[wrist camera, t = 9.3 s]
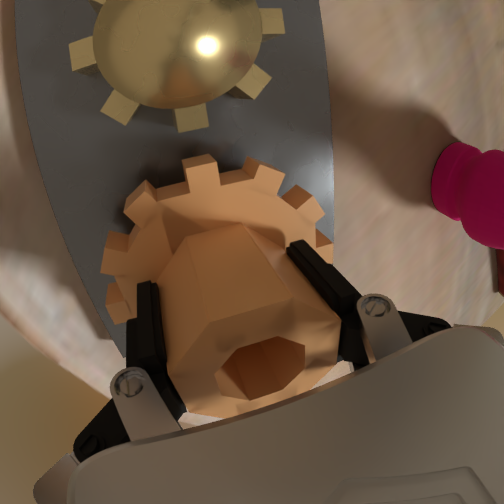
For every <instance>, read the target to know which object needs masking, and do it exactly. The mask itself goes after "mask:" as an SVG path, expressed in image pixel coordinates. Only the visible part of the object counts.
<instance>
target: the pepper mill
mask: <svg viewBox="0 0 504 504" xmlns="http://www.w3.org/2000/svg"><path fill="white" fill-rule="evenodd" d="M431 194H432V200H433V203H434V205H435V207H436V209H437V210H438V211H440V212H441V213H443V214H444V215H446V216H448V217H450V218H451V219H453V220H456V221H459V220H461V222H462V225H463V228H464V230H465V231H466V233H467V234H468V235H469V236H470V237H471V238H472V239H474V240H475V241H477V242H479V243H481V244H483V245H485V246H488V247H492V248H495V249H503V250H504V152H503V151H501V150H489V151H487V152H484V153H482V152H481V151H480V150H479V149H477V148H475V147H473V146H470V145H467V144H465V143H461V142H456V143H453V144H451V145H449V146H448V147H447V148H446V149H445V150H444V151H443V152H442V154H441V155H440V157H439V159H438V160H437V163H436V165H435V168H434V171H433V176H432V181H431Z"/></svg>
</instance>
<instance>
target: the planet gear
mask: <svg viewBox="0 0 504 504" xmlns="http://www.w3.org/2000/svg"><path fill="white" fill-rule="evenodd" d="M182 165H183V170H184V175H185V180H186V181H185V182H180V183H176V184H172V185H169V186H165V187H161V188H157V189H155V188H154V187H153V186H152V185H151V184H150V183H149V182H148V181H147V180H144V181H143V182H142V183H141V184H140V185H139V186H138V187H137V188H136V189H135V190H134V191H133V192H132V193H131V194H130V195H129V196H128V197H127V198H126V203H125V207H124V212H123V213H124V214H125V215H127V216H128V217H129V218H130V219H131V220H132V221H133V222H134V223H135V226H134V228H133V229H132V231H131V233H130V235H128V234H123V233H119V232H114V231H110V230H109V233H108V236H107V240H106V244H105V248H104V254H103V259H102V265H101V271H100V273H103V274H108V275H113V276H114V277H115V279H116V282H114V283H110V284H108V289H107V296H106V303H105V306H106V308H107V310H108V312H109V314H110V316H111V318H112V320H113V322H114V324H115V325H116V324H120V323H124V322H127V320H128V319H132V318H136V317H137V283H141V282H145V281H148V280H151V282H152V283H155V282H156V283H157V285H158V288H159V298H160V307H161V317H162V325H163V333H164V341H165V348H166V355H167V363H166V364H167V371H168V376H169V377H170V379H171V381H172V382H173V384H174V386H175V388H176V390H177V391H178V393H179V395H180V397H181V399H182V400H183V402H184V404H185V406H186V407H187V409H188V411H189V412H190V413H195V414H201V415H207V416H213V417H219V418H230V417H233V416H236V415H240V414H243V413H246V412H249V411H252V410H256V409H259V408H262V407H265V406H268V405H271V404H274V403H277V402H279V401H282V400H285V399H288V398H291V397H293V396H296V395H299V394H301V393H304V392H306V391H309V390H310V389H311V388H312V387H313V386H314V385H315V384H316V383H317V382H318V381H319V380H320V379H321V378H323V377H324V376H325V375H326V374H327V373H328V372H329V371H330V370H331V369H332V368H333V367H334V366H335V365H336V364H337V363H336V362H337V354H338V346H339V337H340V328H341V319H340V318H339V317H338V315H337V314H336V313H335V312H334V311H333V310H332V309H331V308H330V307H329V305H328V304H327V303H326V302H325V300H324V299H323V298H322V297H321V295H320V294H319V293H318V292H317V290H316V289H315V288H314V287H313V285H312V284H311V283H310V282H309V281H308V279H307V278H306V277H305V276H304V274H303V273H302V272H301V271H300V269H299V268H298V267H297V266H296V265H295V263H294V262H293V261H292V260H291V258H290V257H289V256H288V255H287V254H286V247H288V246H289V244H290V242H294V241H297V240H301V239H304V240H305V241H306V242H307V243H308V244H309V245H310V246H311V247H312V248H313V249H314V250H315V251H316V252H317V253H318V254H319V255H320V256H321V257H322V258H323V259H324V260H325V261H326V262H327V263H330V264H333V242H332V241H330V240H329V239H328V238H327V237H326V236H325V235H324V234H322V233H321V232H320V231H319V230H318V229H315V223H316V222H317V221H318V220H319V219H320V218H322V217H323V216H324V215H325V213H324V211H323V210H322V208H321V207H320V205H319V204H318V202H317V201H316V199H315V198H314V196H313V195H312V194H310V193H309V192H307V191H306V190H304V189H303V188H301V187H300V186H298V185H297V184H296V185H295V186H294V187H292V188H291V189H290V190H289V191H288V192H286V193H285V194H284V195H283V196H282V197H280V196H279V195H277V193H278V190H279V188H280V186H281V183H282V181H283V179H284V176H285V173H283V172H282V171H280V170H279V169H277V168H275V167H274V166H272V165H270V164H268V163H265V162H262V161H260V160H257V159H254V158H251V157H249V156H247V157H246V160H245V162H244V165H243V167H242V169H238V170H233V171H228V172H224V173H219V172H218V166H217V161H216V160H215V159H214V158H213V157H212V156H211V155H210V154H205V155H200V156H196V157H191V158H187V159H183V160H182Z"/></svg>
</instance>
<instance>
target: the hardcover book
mask: <svg viewBox="0 0 504 504" xmlns="http://www.w3.org/2000/svg"><path fill="white" fill-rule="evenodd" d="M496 255H497V268H498V288H499V293H500V294H501V295H502V296H503V297H504V250H503V249H496Z"/></svg>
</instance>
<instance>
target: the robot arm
mask: <svg viewBox="0 0 504 504" xmlns="http://www.w3.org/2000/svg"><path fill="white" fill-rule="evenodd" d="M286 254H287V255H288V256H289V257H290V258H291V260H292V261H293V262H294V263H295V265H296V266H297V267H298V268H299V269H300V271H301V272H302V273H303V274H304V276H305V277H306V278H307V279H308V281H309V282H310V283H311V284H312V285H313V287H314V288H315V289H316V290H317V292H318V293H319V294H320V295H321V297H322V298H323V299H324V300H325V302H326V303H327V304H328V305H329V307H330V308H331V309H332V310H333V311H334V312H335V313H336V314H337V315H338V317H339V318H340V319H341V328H340V337H339V346H338V354H337V362H340V361H342V360H344V361H348V362H349V367H350V371H351V373H350V374H347V375H345V376H343V377H341V378H338V379H336V380H334V381H331V382H329V383H326V384H324V385H322V386H319V387H317V388H314V389H312V390H309V391H306V392H304V393H301V394H299V395H296V396H293V397H291V398H288V399H285V400H282V401H279V402H277V403H274V404H271V405H268V406H265V407H262V408H259V409H256V410H252V411H249V412H246V413H243V414H240V415H236V416H233V417H230V418H226V419H223V420H219V421H215V422H212V423H208V424H204V425H200V426H196V427H192V428H188V429H184V430H183V428H182V427H181V425H180V423H179V422H178V420H179V418H180V417H181V416H182V414H183V413H185V412H187V410H186V406H185V404H184V402H183V400H182V399H181V397H180V395H179V393H178V391H177V390H176V388H175V386H174V384H173V382H172V381H171V379H170V377H169V376H168V371H167V364H166V363H167V355H166V348H165V341H164V333H163V325H162V317H161V307H160V298H159V288H158V285H157V283H156V282H155V283H152V282H151V280H148V281H145V282H141V283H137V317H136V318H132V319H128V320H127V322H126V368H125V369H122V370H121V371H119V372H118V373H117V374H116V375H115V376H114V377H113V379H112V381H111V383H110V392H111V395H112V399H111V400H110V401H109V402H108V403H107V404H106V406H104V407H103V409H102V410H101V411H100V412H99V413H98V414H97V415H96V416H95V418H94V419H93V420H92V421H91V422H90V423H89V424H88V425H87V426H86V427H85V429H84V430H83V431H82V432H81V433H80V434H79V435H78V437H77V438H76V439H75V442H74V445H73V448H74V449H73V452H72V453H71V454H70V455H69V454H68V453H66V454H65V455H64V456H63V457H62V458H61V459H60V460H59V461H58V462H57V463H56V464H55V465H54V466H53V467H52V468H50V469H49V471H47V472H46V473H45V474H44V475H43V476H42V477H41V478H40V479H39V480H38V481H37V482H36V483H35V485H34V489H33V495H34V498H35V500H36V502H37V504H504V339H503V336H502V334H501V333H500V332H499V331H498V330H496V329H494V328H490V327H480V326H469V325H458V324H454V325H453V327H451V326H450V324H449V323H447V322H446V321H445V320H443V319H440V318H436V317H430V316H425V315H419V314H413V313H408V312H402V311H397V309H396V307H395V305H394V303H393V302H392V300H391V299H389V298H388V297H386V296H384V295H381V294H367V295H364V296H362V295H361V294H360V293H359V292H358V291H357V290H356V289H355V288H354V287H353V286H352V285H351V284H350V283H349V282H348V281H347V280H346V279H345V277H344V276H343V275H342V274H341V273H340V272H339V271H338V270H337V269H336V268H335V267H334V266H333V265H332V264H330V263H327V262H326V261H325V260H324V259H323V258H322V257H321V256H320V255H319V254H318V253H317V252H316V251H315V250H314V249H313V248H312V247H311V246H310V245H309V244H308V243H307V242H306V241H305V240H304V239H301V240H297V241H294V242H290V244H289V246H288V247H286ZM337 362H336V363H337Z"/></svg>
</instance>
